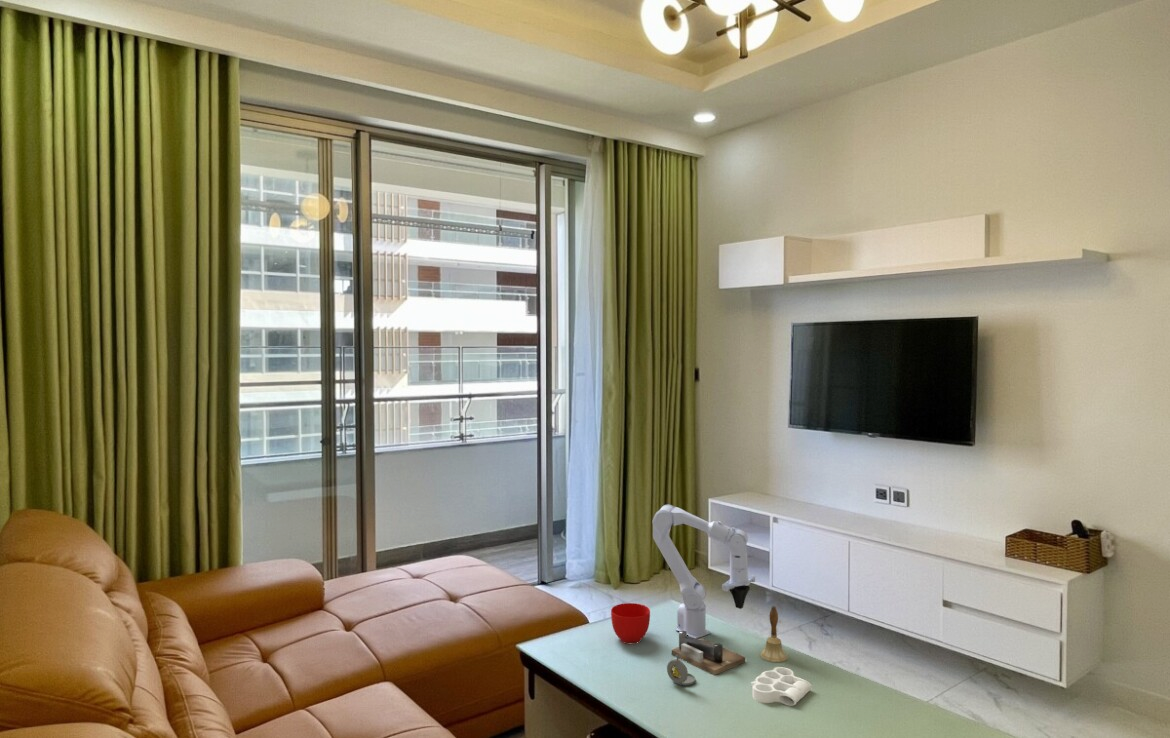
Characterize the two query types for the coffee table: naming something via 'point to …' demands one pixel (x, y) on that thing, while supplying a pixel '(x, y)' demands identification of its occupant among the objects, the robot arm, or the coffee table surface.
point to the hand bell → (773, 642)
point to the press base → (706, 664)
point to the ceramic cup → (630, 621)
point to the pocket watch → (679, 672)
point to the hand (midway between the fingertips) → (739, 607)
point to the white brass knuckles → (779, 687)
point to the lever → (703, 647)
